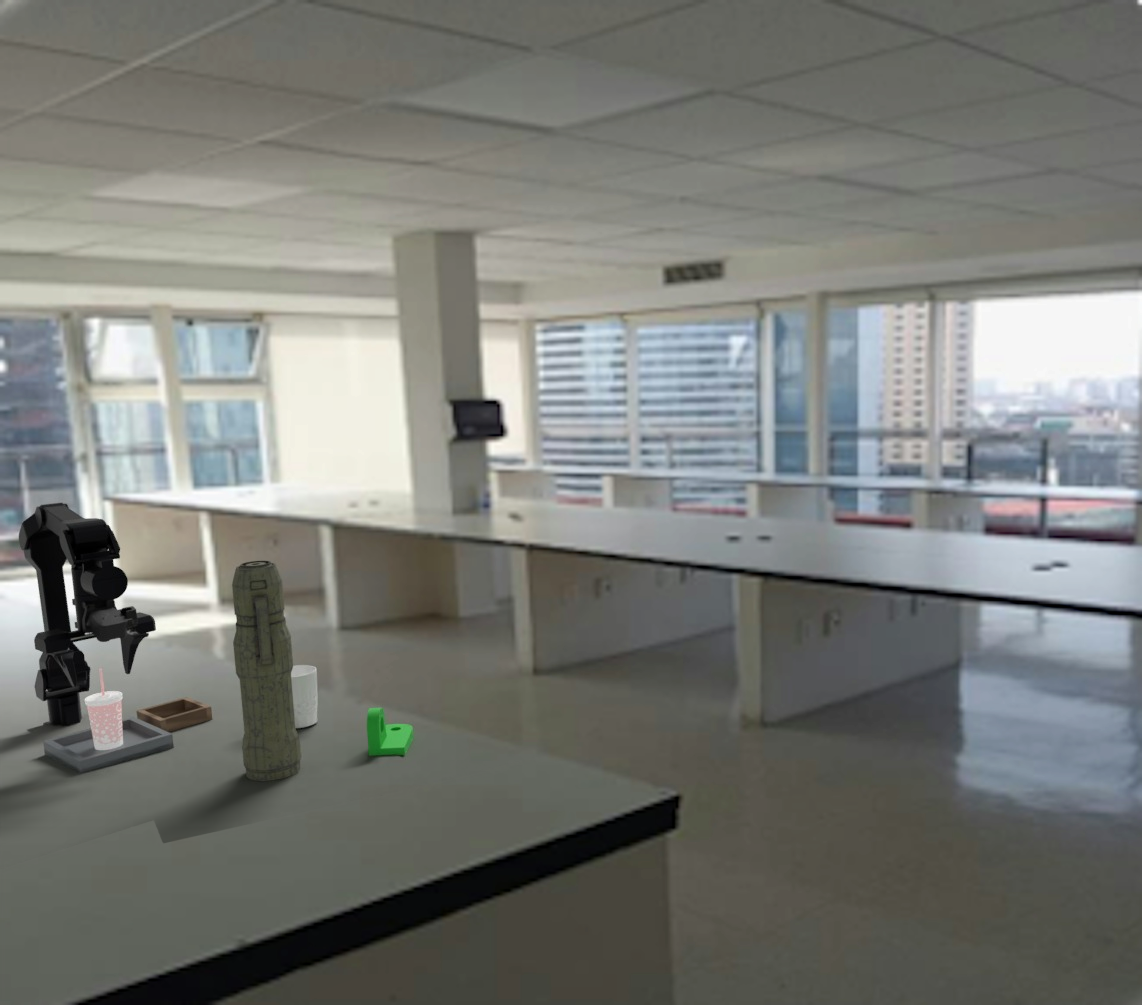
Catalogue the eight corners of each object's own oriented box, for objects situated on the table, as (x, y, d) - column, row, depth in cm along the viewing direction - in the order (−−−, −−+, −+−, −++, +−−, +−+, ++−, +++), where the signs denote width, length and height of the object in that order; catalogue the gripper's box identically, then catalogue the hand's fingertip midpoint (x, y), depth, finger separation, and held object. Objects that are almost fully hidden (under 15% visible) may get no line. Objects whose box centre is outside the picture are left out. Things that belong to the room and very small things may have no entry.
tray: (44, 754, 183) (43, 741, 183) (134, 729, 195) (133, 716, 194) (80, 775, 172) (79, 761, 172) (173, 747, 184) (172, 733, 183)
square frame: (137, 723, 198) (136, 710, 198) (187, 709, 205) (186, 696, 205) (161, 733, 191) (160, 720, 191) (212, 719, 198) (211, 706, 198)
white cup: (309, 730, 189) (304, 677, 188) (269, 729, 191) (264, 676, 190) (327, 716, 197) (323, 665, 196) (289, 715, 198) (285, 664, 197)
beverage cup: (111, 752, 180) (102, 674, 178) (82, 750, 181) (73, 673, 180) (135, 740, 185) (127, 663, 184) (106, 738, 187) (98, 663, 185)
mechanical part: (405, 758, 173) (401, 712, 172) (369, 760, 173) (365, 714, 172) (415, 733, 185) (412, 690, 184) (382, 735, 185) (379, 692, 184)
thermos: (254, 794, 161) (234, 572, 156) (239, 770, 171) (219, 561, 166) (311, 781, 165) (293, 564, 160) (292, 759, 175) (275, 554, 171)
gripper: (53, 608, 168) (64, 702, 170) (165, 587, 181) (174, 674, 183) (28, 600, 175) (38, 690, 177) (137, 581, 189) (146, 664, 191)
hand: (101, 680), depth 182 cm, fingers open, 9 cm apart
